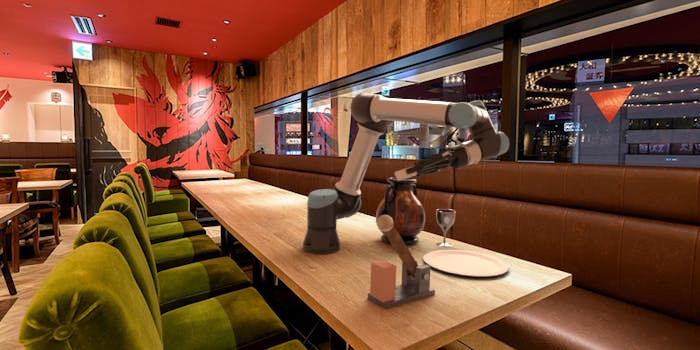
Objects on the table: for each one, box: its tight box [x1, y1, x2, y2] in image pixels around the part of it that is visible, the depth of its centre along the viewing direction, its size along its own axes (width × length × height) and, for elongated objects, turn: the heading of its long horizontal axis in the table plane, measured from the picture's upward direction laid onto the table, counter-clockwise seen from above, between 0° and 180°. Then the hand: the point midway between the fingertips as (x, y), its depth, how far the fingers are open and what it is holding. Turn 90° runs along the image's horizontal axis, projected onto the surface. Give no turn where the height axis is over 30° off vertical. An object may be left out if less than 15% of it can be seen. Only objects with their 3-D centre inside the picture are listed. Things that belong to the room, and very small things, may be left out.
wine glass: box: [435, 208, 456, 248], centre depth 154 cm, size 8×8×15 cm
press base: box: [367, 260, 436, 310], centre depth 99 cm, size 18×9×8 cm, turn 124°
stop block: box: [369, 259, 397, 302], centre depth 95 cm, size 4×6×9 cm
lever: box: [376, 215, 419, 278], centre depth 98 cm, size 4×4×23 cm
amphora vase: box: [375, 176, 426, 247], centre depth 157 cm, size 22×22×28 cm
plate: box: [422, 249, 510, 278], centre depth 129 cm, size 29×29×2 cm
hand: (396, 176), depth 113 cm, fingers closed
